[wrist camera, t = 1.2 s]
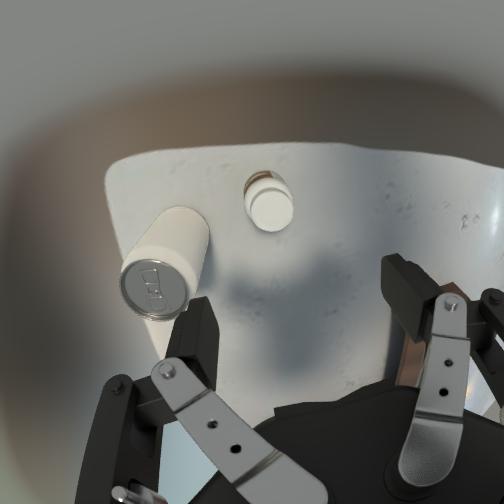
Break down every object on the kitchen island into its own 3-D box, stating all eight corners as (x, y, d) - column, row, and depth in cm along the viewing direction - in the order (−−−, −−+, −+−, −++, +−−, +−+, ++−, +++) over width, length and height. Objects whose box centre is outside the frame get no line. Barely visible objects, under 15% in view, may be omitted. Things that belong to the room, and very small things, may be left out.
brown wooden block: (392, 300, 36) (421, 342, 28) (453, 279, 36) (486, 312, 27) (377, 402, 49) (389, 436, 40) (424, 384, 48) (440, 414, 40)
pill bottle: (259, 161, 28) (265, 174, 21) (293, 185, 29) (310, 205, 22) (235, 195, 29) (233, 219, 22) (269, 217, 30) (277, 247, 23)
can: (160, 261, 32) (129, 326, 21) (148, 209, 29) (103, 258, 19) (214, 255, 32) (202, 323, 21) (205, 201, 29) (184, 249, 19)
